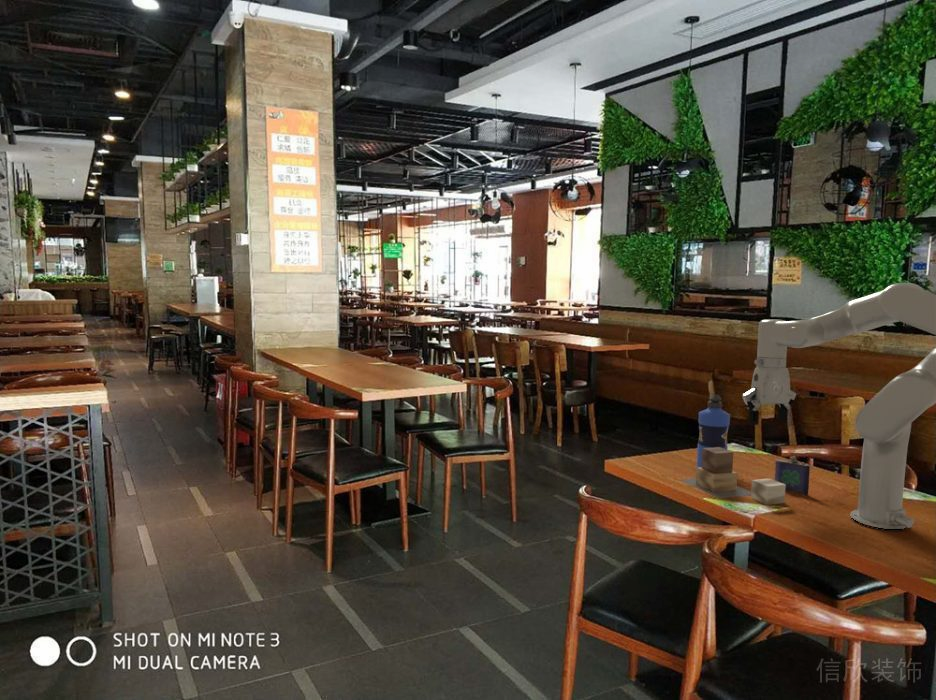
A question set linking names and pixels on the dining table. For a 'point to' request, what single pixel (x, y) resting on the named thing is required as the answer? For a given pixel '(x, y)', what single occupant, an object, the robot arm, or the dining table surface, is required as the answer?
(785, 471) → the flask
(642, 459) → the dining table surface
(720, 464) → the walnut cube
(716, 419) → the water bottle
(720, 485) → the base block
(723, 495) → the slate board
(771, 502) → the birch cube
